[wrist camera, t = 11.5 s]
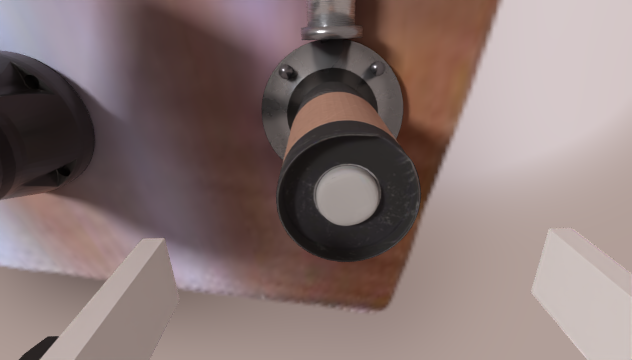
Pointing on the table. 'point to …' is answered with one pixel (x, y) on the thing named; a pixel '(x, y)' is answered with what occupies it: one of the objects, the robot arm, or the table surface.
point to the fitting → (329, 71)
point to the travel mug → (345, 178)
